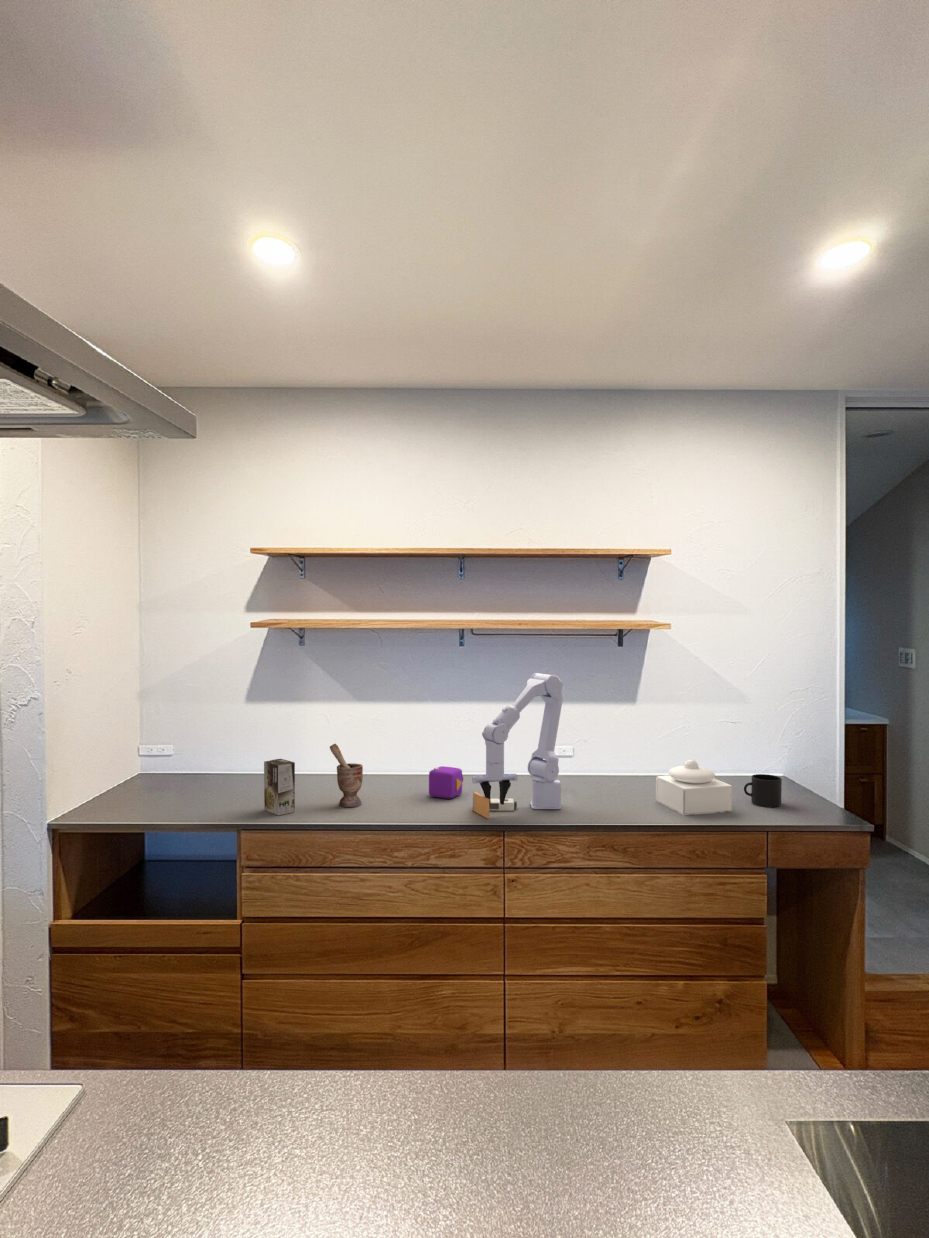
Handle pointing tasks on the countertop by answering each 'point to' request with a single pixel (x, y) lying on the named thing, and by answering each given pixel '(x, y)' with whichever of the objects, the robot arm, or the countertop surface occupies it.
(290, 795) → the coffee box
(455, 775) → the toy camera
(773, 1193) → the countertop surface
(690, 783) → the butter dish
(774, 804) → the mug
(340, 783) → the mortar and pestle
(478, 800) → the side door
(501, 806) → the cream tapered panel
